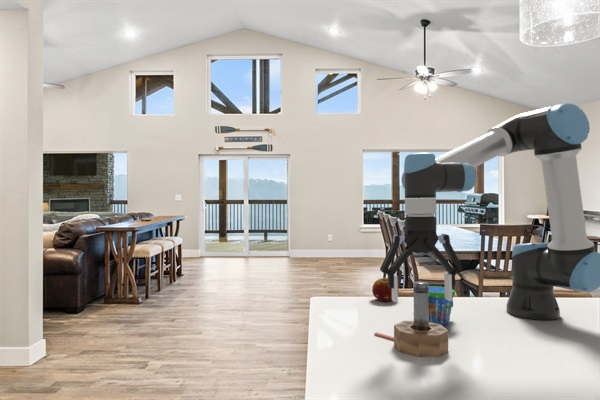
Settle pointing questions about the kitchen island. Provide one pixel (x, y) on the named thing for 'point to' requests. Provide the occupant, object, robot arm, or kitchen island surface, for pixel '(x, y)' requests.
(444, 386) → the kitchen island surface
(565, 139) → the robot arm
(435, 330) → the bead
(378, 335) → the pink stick
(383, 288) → the fruit
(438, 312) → the snack cup
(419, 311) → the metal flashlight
